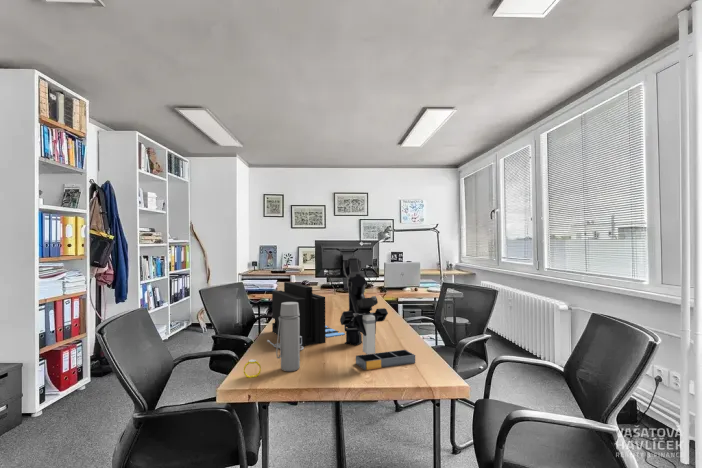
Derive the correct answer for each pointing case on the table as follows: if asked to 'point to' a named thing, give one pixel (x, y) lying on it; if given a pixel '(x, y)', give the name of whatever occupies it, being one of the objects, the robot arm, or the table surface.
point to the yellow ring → (252, 363)
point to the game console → (304, 313)
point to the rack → (385, 359)
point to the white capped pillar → (369, 334)
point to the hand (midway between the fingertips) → (370, 334)
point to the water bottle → (289, 336)
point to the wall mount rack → (279, 343)
